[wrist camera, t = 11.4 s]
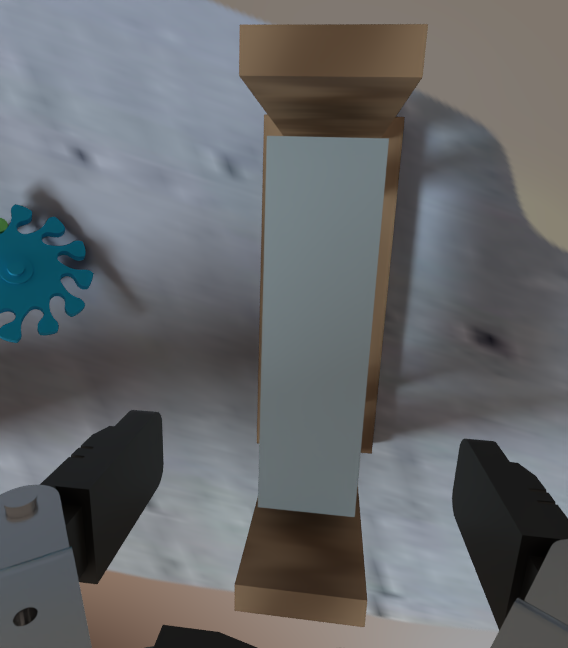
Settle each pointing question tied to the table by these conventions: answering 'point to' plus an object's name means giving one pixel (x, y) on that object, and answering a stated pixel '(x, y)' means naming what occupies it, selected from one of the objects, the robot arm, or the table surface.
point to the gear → (36, 273)
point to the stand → (375, 122)
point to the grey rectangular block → (317, 317)
